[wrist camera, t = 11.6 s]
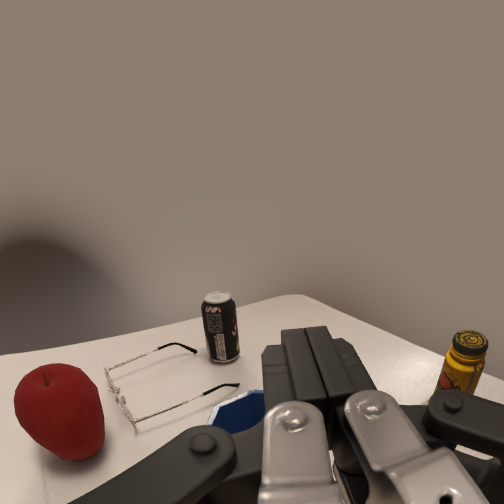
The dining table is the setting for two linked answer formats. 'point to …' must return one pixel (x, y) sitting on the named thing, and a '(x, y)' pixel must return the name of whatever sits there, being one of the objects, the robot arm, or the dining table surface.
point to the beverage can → (220, 326)
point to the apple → (61, 410)
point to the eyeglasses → (123, 402)
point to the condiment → (463, 362)
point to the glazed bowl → (239, 412)
